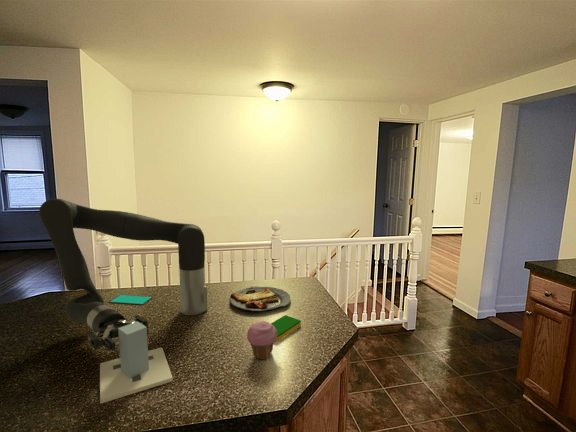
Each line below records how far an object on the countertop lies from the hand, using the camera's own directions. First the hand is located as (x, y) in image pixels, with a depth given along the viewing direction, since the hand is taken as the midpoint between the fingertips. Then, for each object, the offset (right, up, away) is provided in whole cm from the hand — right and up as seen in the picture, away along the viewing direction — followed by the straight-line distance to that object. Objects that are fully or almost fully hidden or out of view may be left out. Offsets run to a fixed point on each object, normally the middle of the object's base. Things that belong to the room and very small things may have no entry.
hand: (131, 339), depth 84 cm
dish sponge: (+39, -7, +24) cm, 46 cm away
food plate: (+30, -3, +47) cm, 56 cm away
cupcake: (+34, -8, +9) cm, 36 cm away
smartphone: (-23, -3, +47) cm, 52 cm away
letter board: (+1, -9, 0) cm, 9 cm away
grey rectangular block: (+1, -8, 0) cm, 8 cm away
